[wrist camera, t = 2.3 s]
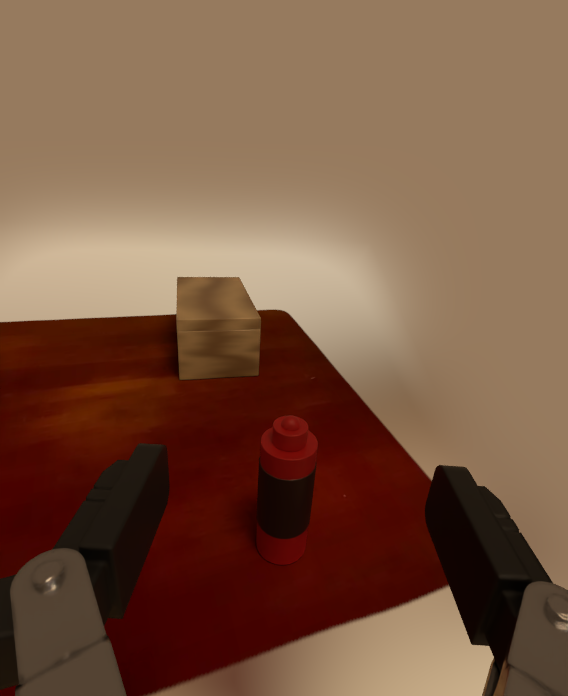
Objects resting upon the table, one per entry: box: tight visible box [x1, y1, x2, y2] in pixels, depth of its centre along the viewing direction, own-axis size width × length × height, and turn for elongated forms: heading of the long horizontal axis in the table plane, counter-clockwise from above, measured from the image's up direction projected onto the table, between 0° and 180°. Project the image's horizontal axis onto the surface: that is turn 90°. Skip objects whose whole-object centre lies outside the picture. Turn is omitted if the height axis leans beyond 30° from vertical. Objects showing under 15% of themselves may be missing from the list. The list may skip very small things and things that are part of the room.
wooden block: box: [176, 277, 261, 380], centre depth 58 cm, size 10×20×8 cm, turn 13°
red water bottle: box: [256, 415, 318, 565], centre depth 26 cm, size 4×4×11 cm
